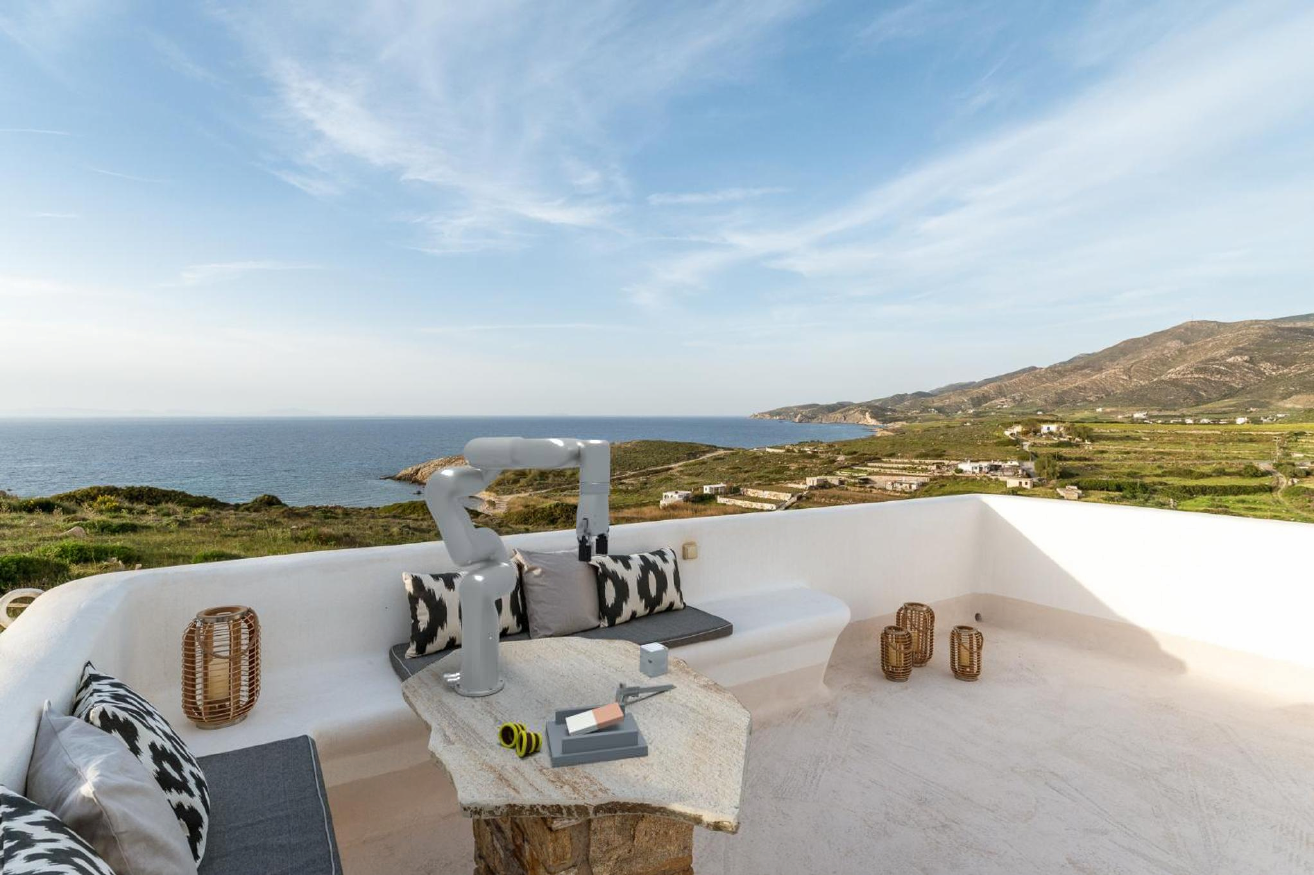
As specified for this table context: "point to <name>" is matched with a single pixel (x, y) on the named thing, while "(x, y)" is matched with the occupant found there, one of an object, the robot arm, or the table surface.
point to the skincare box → (653, 659)
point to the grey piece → (593, 739)
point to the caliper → (638, 690)
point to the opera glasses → (519, 738)
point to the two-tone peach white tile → (594, 719)
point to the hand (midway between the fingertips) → (593, 557)
